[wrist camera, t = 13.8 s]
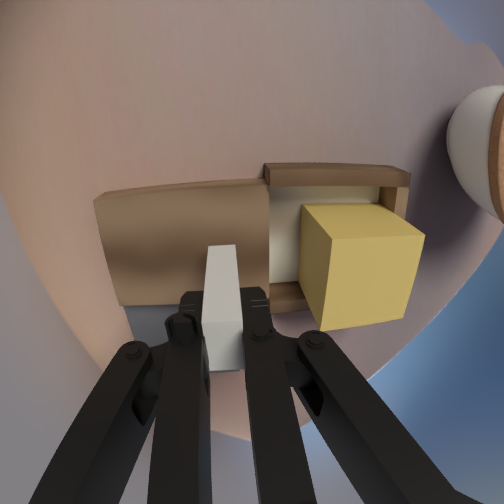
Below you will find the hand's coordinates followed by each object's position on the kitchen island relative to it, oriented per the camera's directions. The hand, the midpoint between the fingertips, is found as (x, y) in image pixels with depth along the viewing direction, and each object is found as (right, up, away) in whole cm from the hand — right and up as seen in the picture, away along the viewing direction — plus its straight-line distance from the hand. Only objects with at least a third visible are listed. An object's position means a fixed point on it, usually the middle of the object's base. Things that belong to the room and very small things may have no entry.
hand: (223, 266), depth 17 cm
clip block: (+8, 0, +2) cm, 8 cm away
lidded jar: (+20, +10, +2) cm, 23 cm away
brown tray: (+3, +2, +4) cm, 5 cm away
